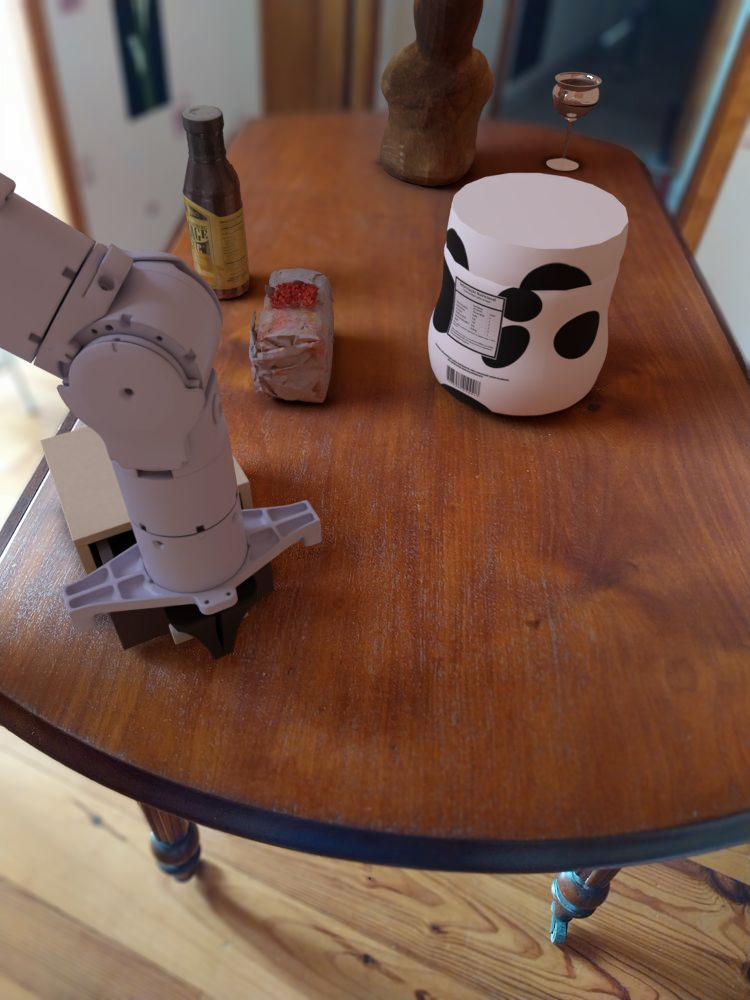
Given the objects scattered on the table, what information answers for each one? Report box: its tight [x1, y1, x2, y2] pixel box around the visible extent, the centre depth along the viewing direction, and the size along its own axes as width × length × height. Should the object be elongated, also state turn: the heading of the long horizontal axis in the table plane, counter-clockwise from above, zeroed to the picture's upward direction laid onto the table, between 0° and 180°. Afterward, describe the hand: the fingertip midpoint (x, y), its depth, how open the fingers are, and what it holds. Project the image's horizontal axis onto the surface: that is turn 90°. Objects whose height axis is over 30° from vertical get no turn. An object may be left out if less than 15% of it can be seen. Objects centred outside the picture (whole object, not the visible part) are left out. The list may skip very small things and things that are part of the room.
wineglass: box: [546, 71, 602, 172], centre depth 112 cm, size 7×7×12 cm
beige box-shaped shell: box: [39, 426, 254, 576], centre depth 59 cm, size 12×13×8 cm
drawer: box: [95, 529, 276, 651], centre depth 54 cm, size 14×11×6 cm
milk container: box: [427, 172, 629, 418], centre depth 71 cm, size 17×17×18 cm
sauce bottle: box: [181, 104, 251, 300], centre depth 82 cm, size 7×6×20 cm
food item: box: [248, 267, 335, 404], centre depth 74 cm, size 14×8×10 cm, turn 1°
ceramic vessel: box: [379, 0, 495, 187], centre depth 102 cm, size 16×22×30 cm
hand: (218, 644), depth 49 cm, fingers closed
